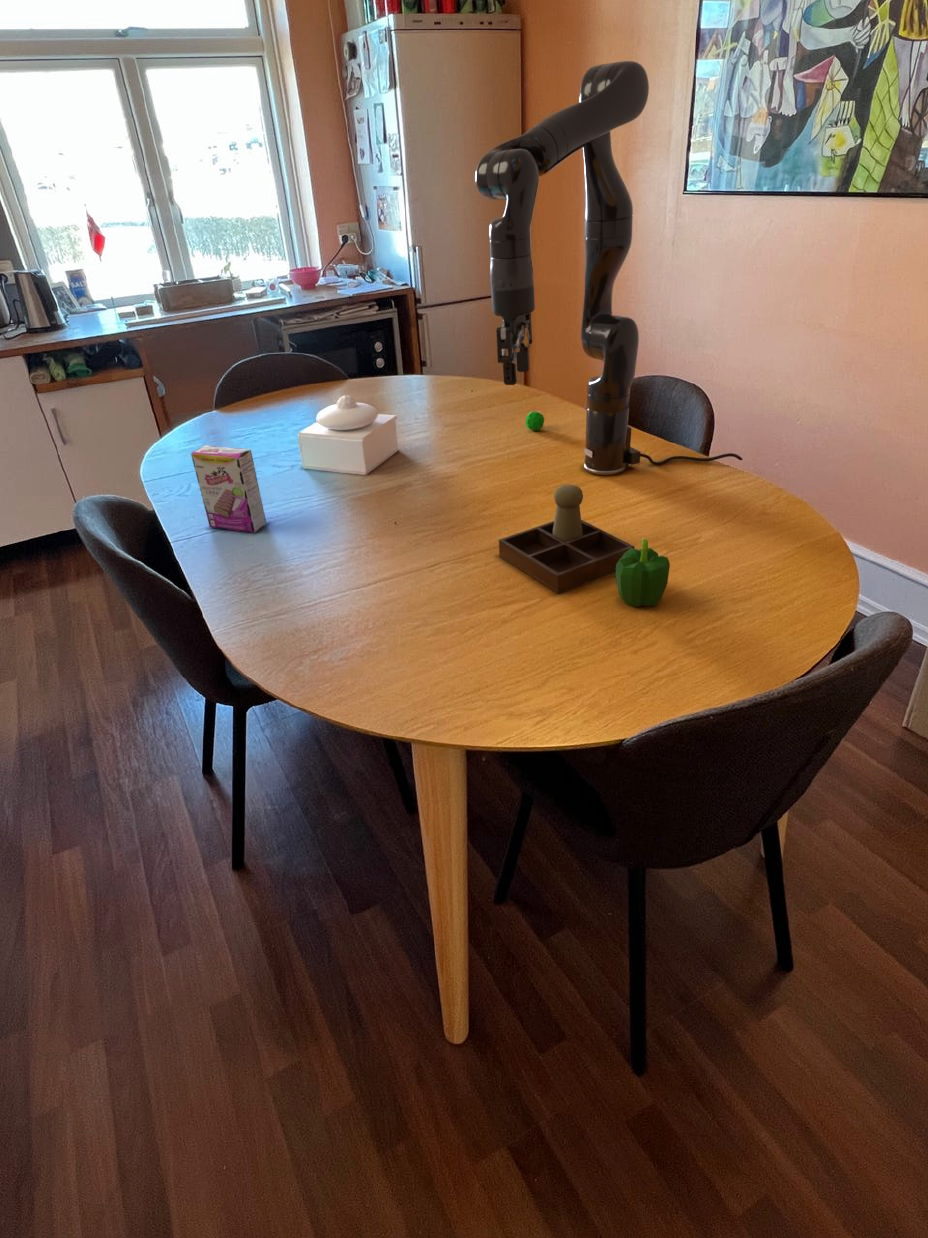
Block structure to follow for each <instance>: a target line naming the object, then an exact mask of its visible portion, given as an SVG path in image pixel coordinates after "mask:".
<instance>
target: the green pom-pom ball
mask: <svg viewBox="0 0 928 1238" xmlns="http://www.w3.org/2000/svg"><path fill="white" fill-rule="evenodd" d="M524 424H525V426H526V428H528V429H529V430H531V431H533V432H538V431H539V430H541V429H542V428H543V427H544V425H545V416H544V415H543V414H542V413H541V412H539V411H537V410H535V411H534V410H533V411H531V412H529V413H528V414H527V415H526V417H525V423H524Z"/></svg>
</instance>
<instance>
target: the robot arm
mask: <svg viewBox="0 0 928 1238" xmlns="http://www.w3.org/2000/svg"><path fill="white" fill-rule="evenodd" d="M648 77H649V76H648V73H647V71H646V69H645V68H644V67H643V65H642V64H640V63H639V62H638V61H633V60H621V61H614V62H608V63H602V64H596V65H593V66H591V67H589V68H588V69H587V70H586V71H585V73H584V75H583V77H582V79H581V83H580V88H579V101H578V103H575V104H573V105H570V106H567V107H565V108H562V109H560V110H557V111H556V112H553V113H551V114H549V115H548V116H546V117H545V118H544V119H542V120H541V121H539V122H538V123H536V124H535V125H533V126H532V127H531V128H529V129H528V130H527V131H525V132H524V133H523V134H521V135H519V136H517V137H514V138H511V139H510V140H507V141H505V142H503V143H500V144H498V145H496V146H494V147H493V148H491V149H490V150H488V151H487V152H486V153H484V155H483V156H482V157H481V158H480V160H479V161H478V164H477V166H476V168H475V175H474V179H475V180H474V181H475V185H476V188H477V190H478V192H479V194H480V195H482V197H484V198H486V199H487V200H491V201H506V205H505V209H504V213H503V215H501V216H499V217H495V218H493V220H491V222H490V223H489V226H488V239H489V256H490V266H489V267H490V268H489V276H490V277H489V278H490V293H491V307H492V313H493V315H494V316H496V317H501V318H502V325H501V326H498V327H496V330H495V333H496V350H497V351H496V352H497V363H498V364H501V365H502V374H503V384H504V385H505V386H515V385H516V384H517V381H518V380H517V372H519V373H528V372H529V370H530V357H529V356H530V355H529V351H530V349H531V345H532V344H533V330H532V313H533V312H534V311H535V307H536V305H535V302H536V301H535V279H534V278H535V276H534V273H535V272H534V263H533V258H532V256H533V255H532V236H531V235H532V234H531V227H532V221H533V216H534V211H535V207H536V206H535V205H536V200H537V195H538V191H539V184H540V177H542V176H544V175H546V174H548V173H550V172H551V171H552V170H554V169H555V168H556V167H558V166H559V165H560V164H561V163H563V162H564V161H565V160H567V159H568V158H570V157H571V156H572V155H574V154H575V153H576V152H577V151H579V150H581V149H582V154H583V173H584V256H585V257H584V260H585V261H584V295H583V307H582V315H581V316H582V317H581V331H580V332H581V333H580V340H581V346H582V350H583V352H584V354H586V356H587V357H589V358H592V359H594V360H599V361H603V369H602V374H600V375H596V376H593V377H591V378H589V380H588V382H587V388H586V393H587V394H586V417H585V440H584V441H585V443H584V444H585V445H584V450H583V451H584V452H583V453H584V463H583V469H584V470H585V472H587V473H589V474H593V475H598V476H614V475H618V474H622V473H623V472H625V470H628V469H630V466H634V465H638V464H641V458H645V459H647V460H648V461H649V463H650V464H651V465H654V466H661V465H664V464H666V463H668V462H670V461H675V460H687V461H695V462H711V461H716V460H720V459H723V458H728V457H730V458H731V457H733V458H736V459H738V460H739V461H743V458H742V456H740V455H739V454H737V453H733V452H730V453H723V454H719V455H715V456H711V457H695V456H689V455H688V456H686V455H674V456H670V457H668V458H665V459H664V460H662V461H654V460H653V458H652V457H651V456H650V455H649V454H646V453H642V452H641V451H639V450H638V449H636V448H635V447H632V446H631V443H632V440H631V439H632V427H631V426H629V416H630V401H631V399H630V398H631V387H632V386H633V385H632V384H633V382H634V379H635V375H636V368H637V362H638V361H637V359H638V352H639V342H640V335H639V328H638V324H637V323H636V321H635V320H634V319H633V318H631V317H628V316H623V315H618V314H613V292H614V287H615V283H616V280H617V278H618V275H619V273H620V272H621V269H622V267H623V265H624V264H625V262H626V259H627V257H628V255H629V252H630V249H631V246H632V242H633V225H634V224H633V223H634V221H633V220H634V216H633V215H634V205H633V201H632V198H631V194H630V192H629V190H628V188H627V186H626V183H625V181H624V180H623V177H622V175H621V173H620V172H619V169H618V167H617V165H616V162H615V159H614V155H613V149H612V136H611V131H613V130H615V129H617V128H620V127H622V126H625V125H627V124H629V123H632V122H634V121H635V120H636V119H638V118H639V117H640V116H641V115H642V113H643V112H644V110H645V107H646V106H647V102H648V99H649V95H650V94H649V92H650V84H649V79H648Z"/></svg>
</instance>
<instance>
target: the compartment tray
mask: <svg viewBox="0 0 928 1238" xmlns="http://www.w3.org/2000/svg"><path fill="white" fill-rule="evenodd" d="M581 524H582V533H583V536H581V537H578V538H575V539H572V540H570V541H567V542H565V541H563V540H561V539H560V538H558V537H556V536H554V535H552V533H553V526H554V520H553V521H549V522H547V523H544V524H541V525H538V526H535V527H531V528H529V529H527V530H524V531H521V532H517V533H514V534H512V535H509V536H506V537H503V538H500V539H498V556H499V558H501V559H502V560H504V561H505V562H507V563H508V564H510V565H512V566H513V567H514V568H516V569H518V570H520V571H522V572H523V573H524V574H526V575H528V577H531V578H533V580H535V581H537V582H538V583H540V584H542V585H543V586H545V587H546V588H548V589H549V590H551V591H552V592H554V593H555V594H557V595H559V594H560V593H564V592H565V591H566V592H567V591H569V590H571V589H573V588H576V587H578V586H581V585H583V584H586V583H589V582H591V581H593V580H597V579H598V578H601V577H604V576H606V575H608V574H612V573H614V572H616V565H617V563H618V561H619V559H620V558H622V556H623V555H624V553H625V552H627V551H628V550H629V549H630V548H633V549H635V545H632V544H630V543H628V542H627V541H624V540H622V539H620V538H618V537H616V536H614V535H613V534H611V533H608V532H606V531H605V530H603V529H601V528H599V527H596V526H595V525H592V524H591V523H589V522H587V521H584V520H583V519H581Z"/></svg>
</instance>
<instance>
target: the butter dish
mask: <svg viewBox="0 0 928 1238" xmlns="http://www.w3.org/2000/svg"><path fill="white" fill-rule="evenodd" d="M315 420H316V422H314V423H313V424H311V425H309V426H307V427H305V428H303V429H302V430H300V431H299V432H298V435H296V437H297V444H298V449H299V454H300V455H299V456H300V461H301V465H302V469H304V470H305V469H306V470H314V471H324V472H331V473H332V472H334V473H342V474H352V475H361V476H367V475H368V474H369V473H370V472H372V471H373V470H375V469H376V468H378V467H379V466H380V465H381V464H382V463H384V462H385V461H387V460H388V459H389V458H391V457H392V456H393V455H394V454H395V453H397V452H398V451H399V444H398V433H397V426H396V425H397V423H396V420H397V415H396V414H384V413H383V414H381V413H379V411H378V410H377V408H376V407H375V406H372V405H370V404H367V403H363V402H357V400H356V398H354V397H353V396H352V395H347V394H345V395H342V396H341V397H339V399H338V400H337V401H336V404H332V405H329V406H327V407H325V408H323V409H321V410H320V411H319V412H318V413H317V414H316V418H315Z"/></svg>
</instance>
